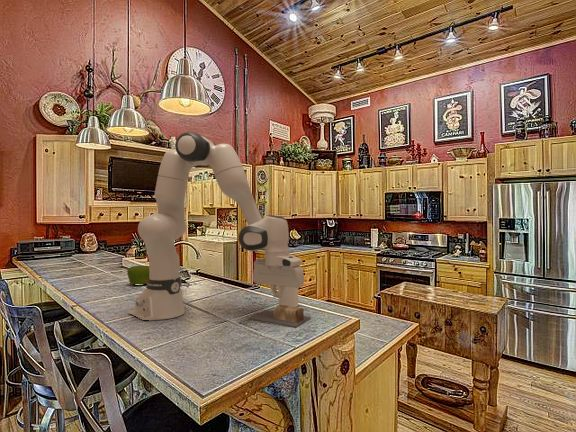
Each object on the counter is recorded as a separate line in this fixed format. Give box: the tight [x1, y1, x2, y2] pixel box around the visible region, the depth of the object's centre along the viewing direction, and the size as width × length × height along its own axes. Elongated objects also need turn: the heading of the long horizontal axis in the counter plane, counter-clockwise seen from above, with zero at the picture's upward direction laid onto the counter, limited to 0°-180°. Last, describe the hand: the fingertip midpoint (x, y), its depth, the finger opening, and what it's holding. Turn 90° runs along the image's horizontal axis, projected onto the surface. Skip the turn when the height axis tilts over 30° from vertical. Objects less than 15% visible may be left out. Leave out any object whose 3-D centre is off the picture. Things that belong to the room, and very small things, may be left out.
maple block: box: [273, 304, 305, 323], centre depth 121 cm, size 4×4×10 cm
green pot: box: [126, 265, 150, 285], centre depth 188 cm, size 12×12×11 cm
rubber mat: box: [247, 309, 311, 329], centre depth 123 cm, size 20×11×1 cm, turn 59°
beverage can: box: [277, 286, 299, 307], centre depth 139 cm, size 8×8×12 cm
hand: (277, 297), depth 123 cm, fingers closed
